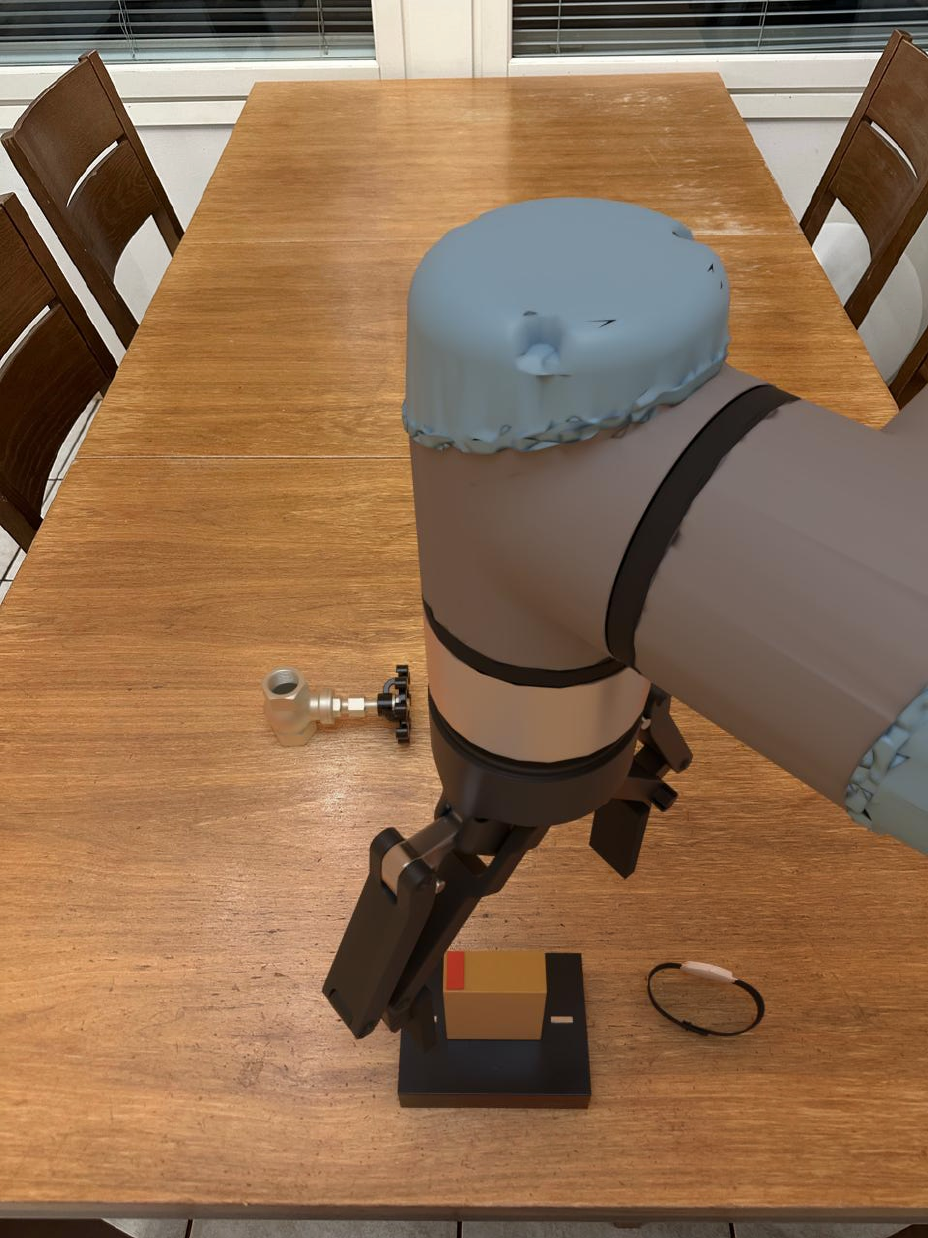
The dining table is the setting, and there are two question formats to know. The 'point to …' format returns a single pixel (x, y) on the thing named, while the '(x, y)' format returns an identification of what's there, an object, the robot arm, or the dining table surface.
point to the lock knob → (494, 994)
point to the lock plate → (505, 1055)
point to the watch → (711, 974)
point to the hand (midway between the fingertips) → (518, 937)
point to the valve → (328, 705)
